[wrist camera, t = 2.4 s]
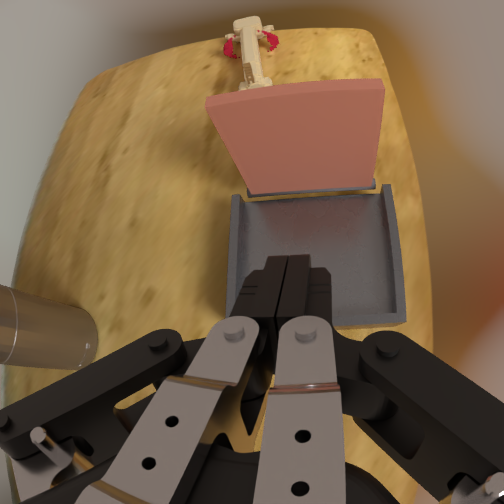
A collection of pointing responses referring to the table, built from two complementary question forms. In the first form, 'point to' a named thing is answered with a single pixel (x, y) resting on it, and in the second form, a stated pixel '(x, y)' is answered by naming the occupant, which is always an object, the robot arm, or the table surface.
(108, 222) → the table surface
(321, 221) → the grey open box
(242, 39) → the cream blocky figure
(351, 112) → the flat pink square board
